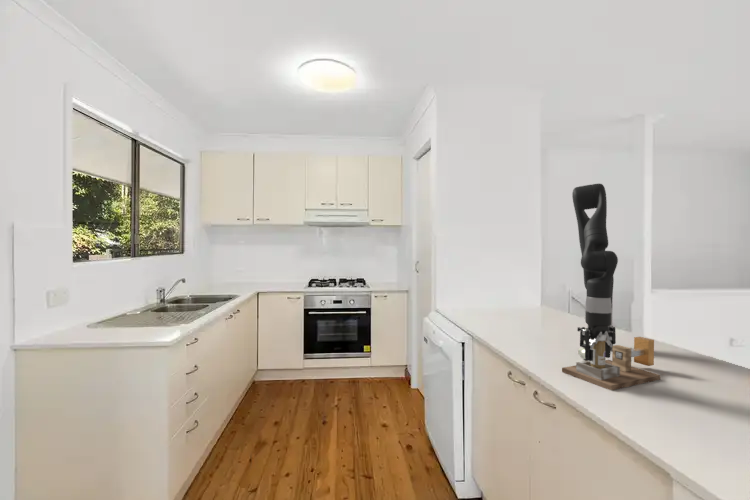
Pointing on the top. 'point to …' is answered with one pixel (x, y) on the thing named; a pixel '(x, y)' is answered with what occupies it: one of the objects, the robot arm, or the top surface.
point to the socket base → (612, 371)
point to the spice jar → (599, 353)
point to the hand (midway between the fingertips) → (597, 358)
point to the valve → (582, 350)
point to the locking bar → (641, 351)
